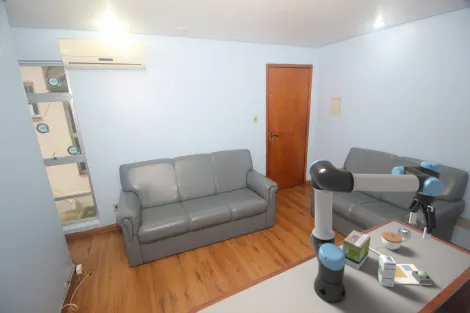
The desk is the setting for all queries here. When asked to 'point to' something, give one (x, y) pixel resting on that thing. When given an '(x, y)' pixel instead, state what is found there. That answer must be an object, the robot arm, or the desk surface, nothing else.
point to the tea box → (356, 248)
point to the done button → (422, 274)
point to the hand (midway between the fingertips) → (418, 230)
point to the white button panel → (409, 275)
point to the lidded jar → (391, 240)
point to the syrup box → (386, 270)
